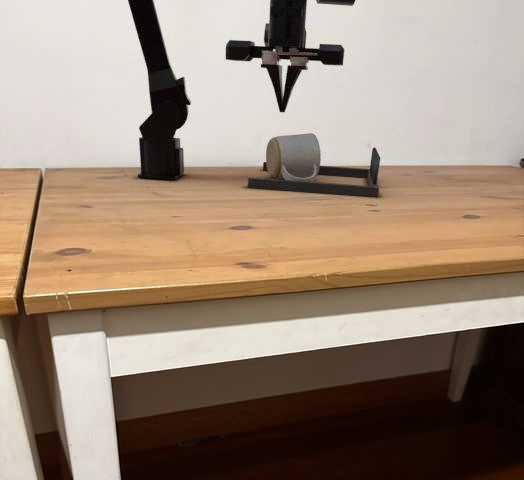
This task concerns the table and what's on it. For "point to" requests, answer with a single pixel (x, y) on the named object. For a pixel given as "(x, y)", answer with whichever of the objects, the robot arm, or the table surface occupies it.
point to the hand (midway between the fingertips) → (282, 112)
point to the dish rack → (327, 187)
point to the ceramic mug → (293, 157)
